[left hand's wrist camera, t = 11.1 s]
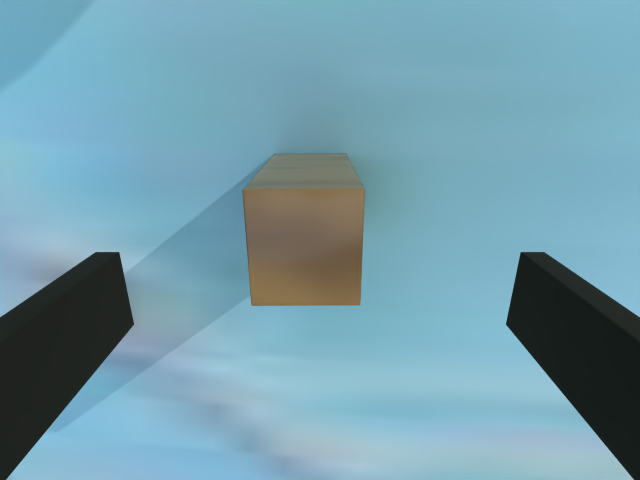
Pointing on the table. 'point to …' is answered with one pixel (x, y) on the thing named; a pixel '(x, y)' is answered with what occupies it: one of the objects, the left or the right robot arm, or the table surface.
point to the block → (305, 231)
